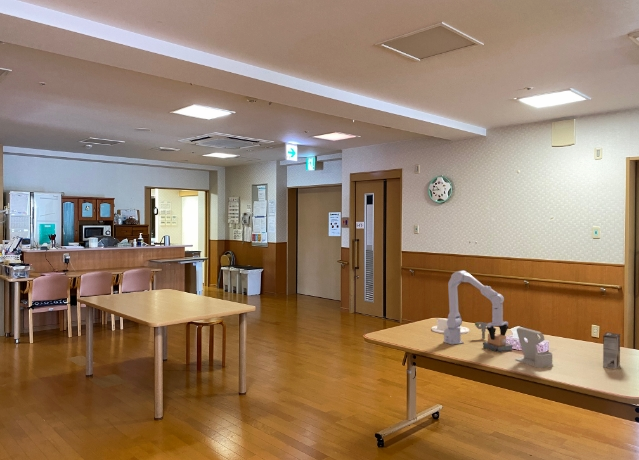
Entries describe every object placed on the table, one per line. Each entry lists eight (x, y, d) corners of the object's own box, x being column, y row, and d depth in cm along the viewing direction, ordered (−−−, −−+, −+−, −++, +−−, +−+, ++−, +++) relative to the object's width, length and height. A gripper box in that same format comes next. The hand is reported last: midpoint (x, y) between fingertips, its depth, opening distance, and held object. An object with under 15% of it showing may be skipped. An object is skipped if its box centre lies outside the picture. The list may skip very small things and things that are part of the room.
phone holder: (555, 366, 254) (555, 330, 254) (540, 368, 250) (540, 332, 250) (528, 357, 270) (528, 324, 270) (514, 359, 266) (514, 326, 265)
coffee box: (606, 363, 258) (606, 332, 258) (620, 365, 254) (620, 333, 254) (602, 367, 251) (602, 335, 251) (617, 369, 247) (617, 337, 247)
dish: (473, 329, 342) (473, 312, 342) (463, 336, 320) (463, 318, 320) (438, 325, 355) (438, 309, 354) (426, 332, 333) (426, 315, 333)
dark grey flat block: (498, 352, 280) (498, 347, 280) (482, 347, 291) (482, 342, 291) (512, 350, 285) (512, 345, 285) (497, 345, 296) (497, 340, 296)
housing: (487, 342, 291) (487, 333, 291) (494, 341, 294) (494, 332, 293) (501, 346, 282) (501, 337, 282) (507, 345, 284) (507, 336, 284)
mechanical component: (492, 339, 312) (492, 323, 312) (475, 339, 312) (475, 323, 312) (490, 337, 315) (490, 322, 315) (474, 337, 315) (474, 322, 315)
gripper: (493, 317, 281) (493, 341, 281) (512, 315, 287) (512, 338, 287) (484, 315, 287) (484, 338, 288) (503, 313, 293) (503, 336, 294)
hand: (497, 338), depth 288 cm, fingers open, 7 cm apart
